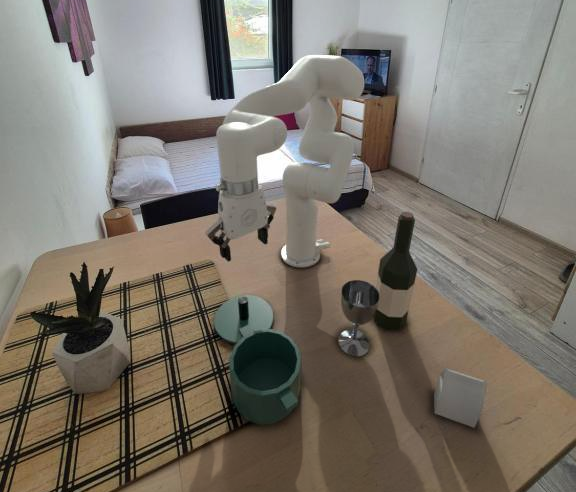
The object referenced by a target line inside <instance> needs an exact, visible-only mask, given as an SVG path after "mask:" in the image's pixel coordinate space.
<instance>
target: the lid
mask: <svg viewBox="0 0 576 492" xmlns="http://www.w3.org/2000/svg"><path fill="white" fill-rule="evenodd" d="M213 318H214V319H213V327H214V330H215V332H216V334H217V335H218V336H219V337H220V338H221V339H222V340H224V341H225V342H227V343H230V344H234V345H236V344H237V343H238V342H239V341H240V340H241V339H242V336H241V335H240V333H239V329H240V328H242V327H245V326H247V325H250V327H251V328H252V330H253V331H256V330H263V329H272V326H273V323H274V311H273V308H272V306H271V304H270V303H269V302H267V300H266V299H264V298H262V297H260V296H256V295H252V294H242V295H238V296H234V297H231V298H229V299H227V300H226V301H225V302H223V303H222V305H220V306H219V307H218V308H217V310H216V312H215V313H214V317H213Z"/></svg>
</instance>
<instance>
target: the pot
mask: <svg viewBox="0 0 576 492" xmlns="http://www.w3.org/2000/svg"><path fill="white" fill-rule="evenodd" d="M239 333H240V335H241V336H242V339H241V340H240V341H239V342H238V343H237V344H234V345H233V348H232V351H231V354H230V356H229V359H228V361H229V362H228V363H229V365H228V367H229V379H230V390H231V400H232V401H233V405H234V407H235V409H236V410H237V412H238V413H239V414H240V416H241V417H243V418H244V419H245V420H247V421H248V422H250V423H254V424H256V425H265V426H267V425H272V424H275V423H277V422H280V421H283V420H284V419H286V417H288V416H289V415H290V414H291V413H292V412H293V410H294V409H295V408H296V407H297V406H298V405H299V397H300V394H301V393H300V392H301V385H302V384H301V383H302V381H301V380H302V357H301V351H300V347H299V346H298V345H297V344H296V342H295V341H294V339H293V338H292V337H291V336H290V335H288V334H286V333H285V332H283V331H281V330H277V329H272V328H270V329H263V330H256V331H253V330H252V328H251V327H250V325H247V326H245V327H242V328H240V329H239Z"/></svg>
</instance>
